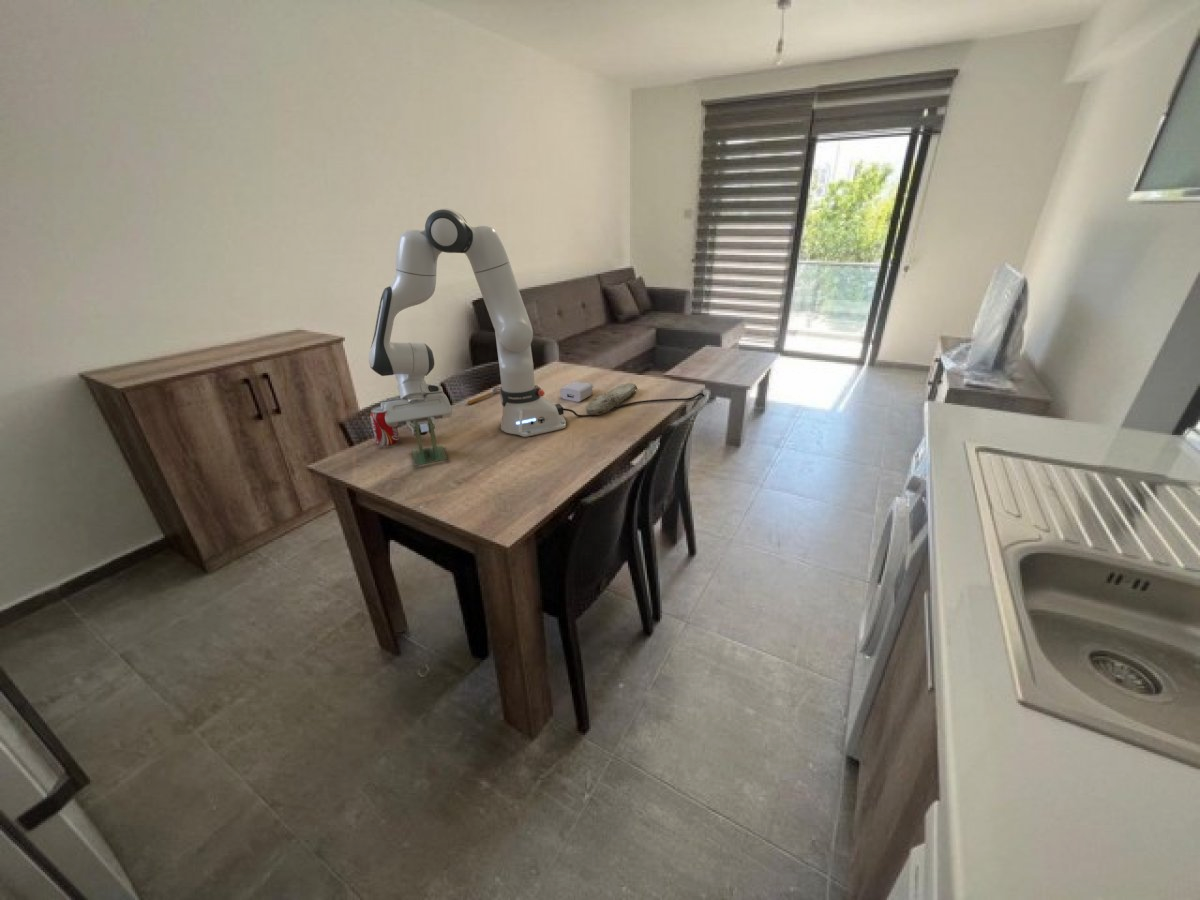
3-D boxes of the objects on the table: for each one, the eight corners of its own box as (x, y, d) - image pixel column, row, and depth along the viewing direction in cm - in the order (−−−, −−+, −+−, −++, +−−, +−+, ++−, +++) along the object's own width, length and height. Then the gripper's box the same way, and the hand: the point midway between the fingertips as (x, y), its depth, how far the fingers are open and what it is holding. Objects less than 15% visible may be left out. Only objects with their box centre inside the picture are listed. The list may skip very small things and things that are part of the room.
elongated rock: (643, 394, 199) (621, 391, 203) (643, 381, 197) (621, 379, 201) (603, 418, 170) (579, 414, 175) (602, 404, 168) (578, 400, 173)
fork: (469, 401, 183) (505, 386, 198) (465, 399, 184) (502, 384, 199) (469, 407, 185) (505, 391, 199) (465, 405, 186) (502, 389, 200)
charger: (599, 391, 198) (580, 402, 187) (581, 387, 203) (561, 398, 191) (599, 380, 196) (580, 390, 185) (580, 376, 200) (560, 387, 189)
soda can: (392, 449, 150) (384, 413, 145) (371, 447, 152) (363, 412, 146) (404, 439, 157) (397, 405, 151) (385, 438, 158) (377, 404, 152)
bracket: (412, 454, 147) (405, 418, 142) (442, 448, 151) (436, 413, 145) (415, 468, 139) (408, 431, 134) (447, 462, 142) (441, 425, 137)
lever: (417, 436, 152) (415, 425, 151) (429, 434, 153) (426, 423, 153) (419, 434, 139) (416, 422, 138) (431, 432, 140) (429, 420, 140)
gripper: (378, 395, 147) (387, 435, 144) (446, 385, 155) (456, 423, 151) (380, 404, 153) (388, 443, 149) (446, 394, 161) (455, 431, 157)
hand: (423, 433), depth 150 cm, fingers closed on lever, 3 cm apart
